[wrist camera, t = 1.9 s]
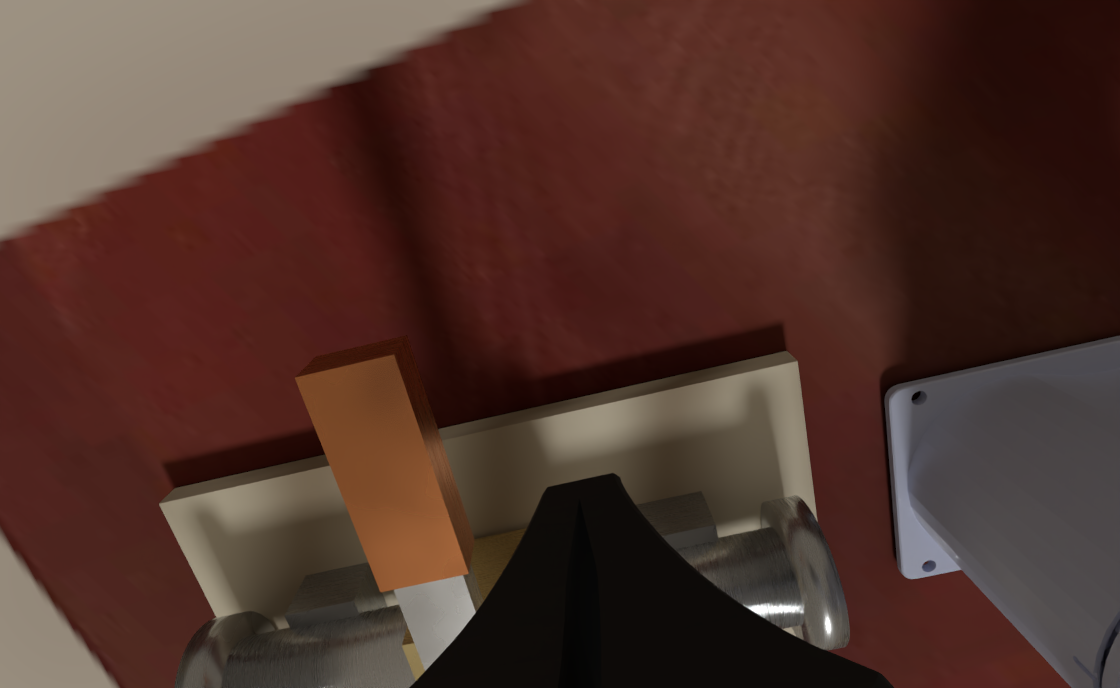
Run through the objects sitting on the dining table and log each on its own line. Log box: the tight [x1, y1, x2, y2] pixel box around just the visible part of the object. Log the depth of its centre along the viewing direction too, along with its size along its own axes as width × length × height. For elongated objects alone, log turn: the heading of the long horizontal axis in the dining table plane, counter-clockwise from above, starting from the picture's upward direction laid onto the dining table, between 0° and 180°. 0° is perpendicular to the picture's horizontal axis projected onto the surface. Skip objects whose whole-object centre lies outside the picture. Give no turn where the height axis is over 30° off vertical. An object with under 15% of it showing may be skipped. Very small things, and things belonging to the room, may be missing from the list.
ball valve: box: [175, 491, 849, 688], centre depth 20 cm, size 20×5×6 cm, turn 103°
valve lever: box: [295, 335, 483, 671], centre depth 15 cm, size 13×2×1 cm, turn 13°
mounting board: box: [159, 351, 817, 636], centre depth 24 cm, size 22×12×1 cm, turn 103°
